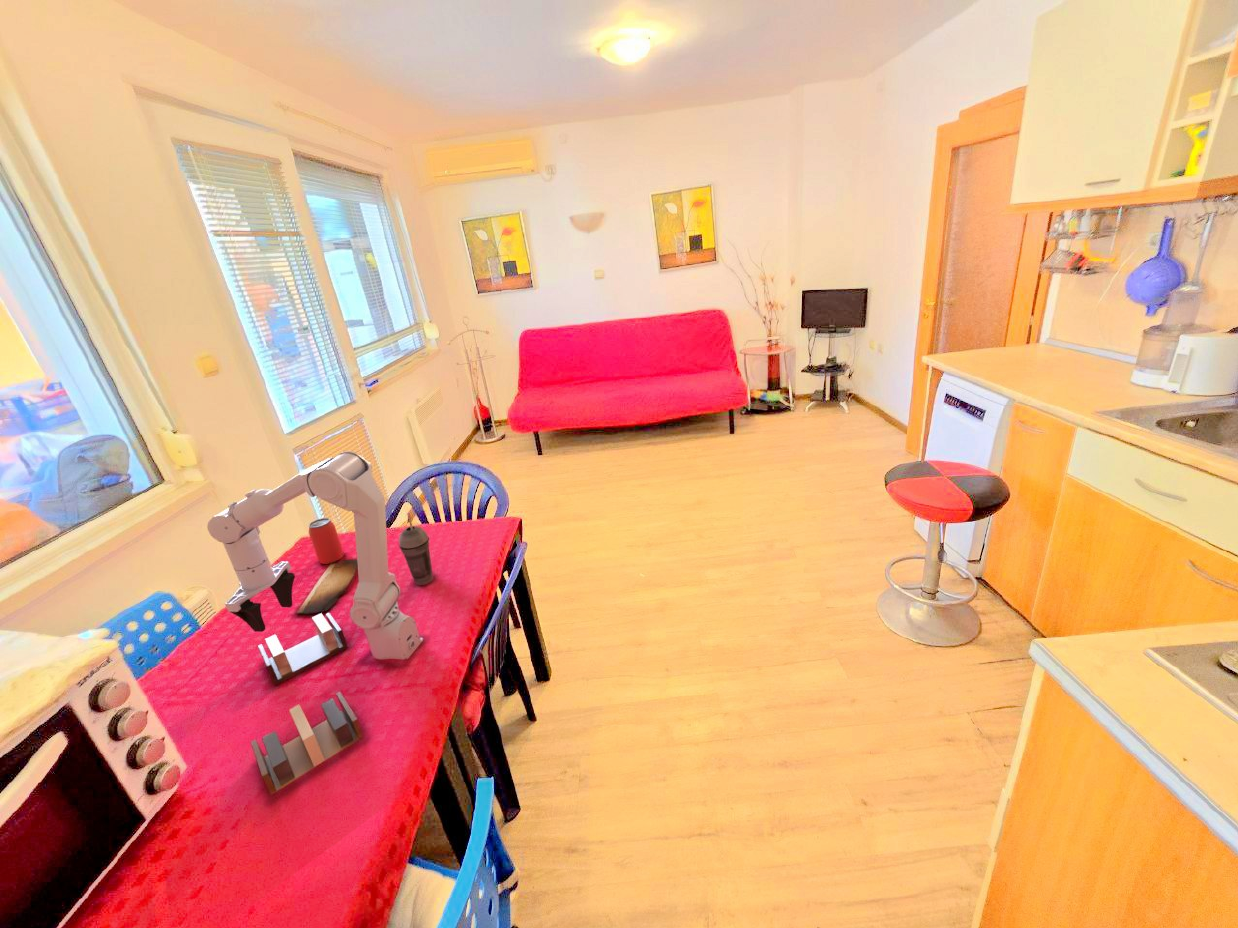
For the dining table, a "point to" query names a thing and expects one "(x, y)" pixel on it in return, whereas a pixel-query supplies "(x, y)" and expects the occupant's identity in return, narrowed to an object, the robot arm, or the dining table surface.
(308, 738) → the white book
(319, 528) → the beer can
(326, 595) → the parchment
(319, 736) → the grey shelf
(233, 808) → the dining table surface
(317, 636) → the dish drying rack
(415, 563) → the beverage cup
